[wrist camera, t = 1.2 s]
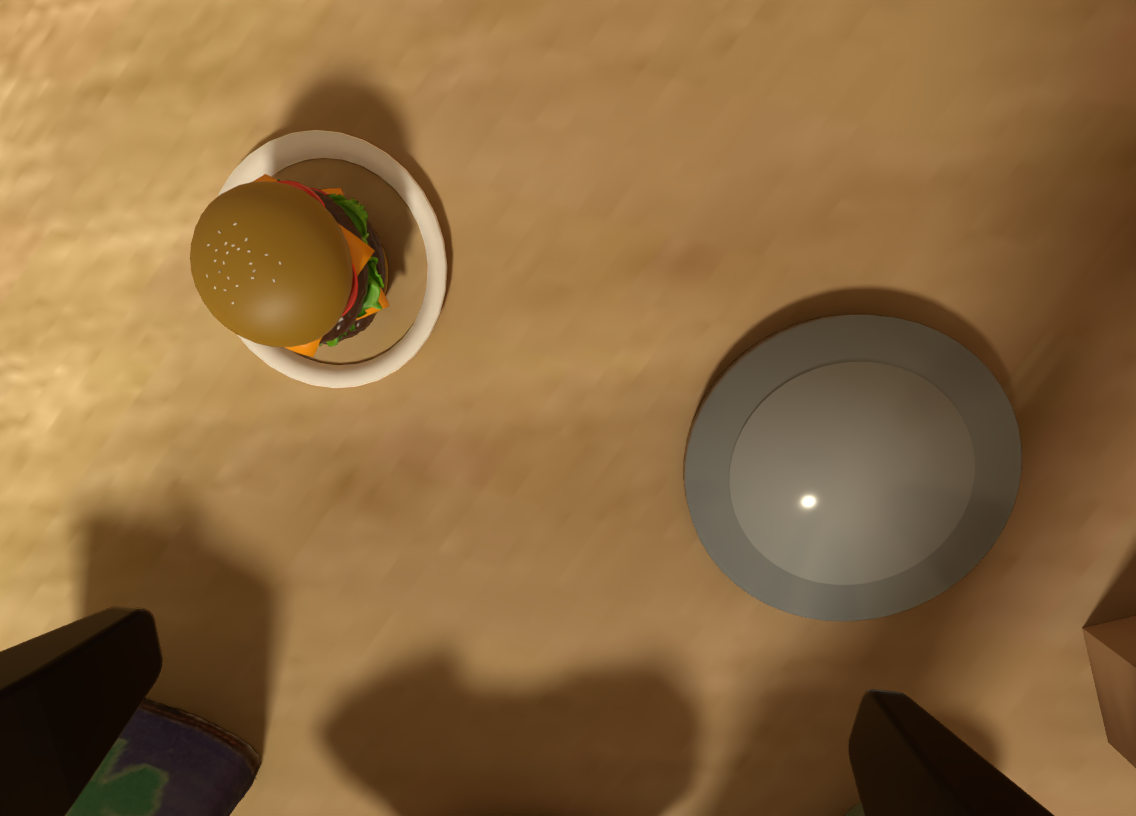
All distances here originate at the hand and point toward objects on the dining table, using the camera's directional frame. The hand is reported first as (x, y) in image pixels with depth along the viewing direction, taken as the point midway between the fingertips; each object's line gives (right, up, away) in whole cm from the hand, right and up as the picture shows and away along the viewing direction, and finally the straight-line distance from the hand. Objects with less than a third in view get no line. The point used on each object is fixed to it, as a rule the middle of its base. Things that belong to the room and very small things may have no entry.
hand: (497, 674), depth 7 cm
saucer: (+11, +1, +13) cm, 17 cm away
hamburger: (-8, +9, +14) cm, 18 cm away
